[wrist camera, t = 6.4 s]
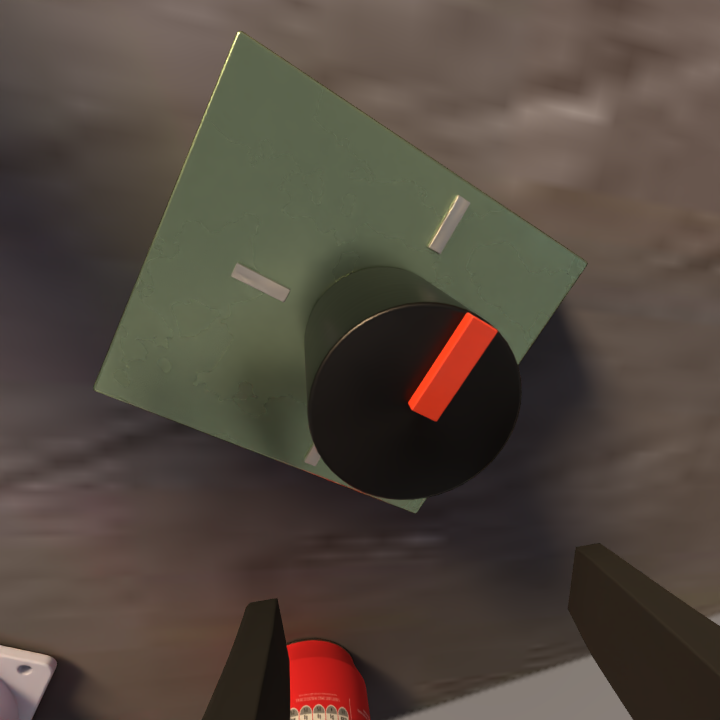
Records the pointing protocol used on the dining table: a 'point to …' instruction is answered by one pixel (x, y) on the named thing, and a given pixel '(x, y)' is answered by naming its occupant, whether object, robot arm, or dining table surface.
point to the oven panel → (304, 256)
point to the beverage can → (325, 682)
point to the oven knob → (406, 385)
